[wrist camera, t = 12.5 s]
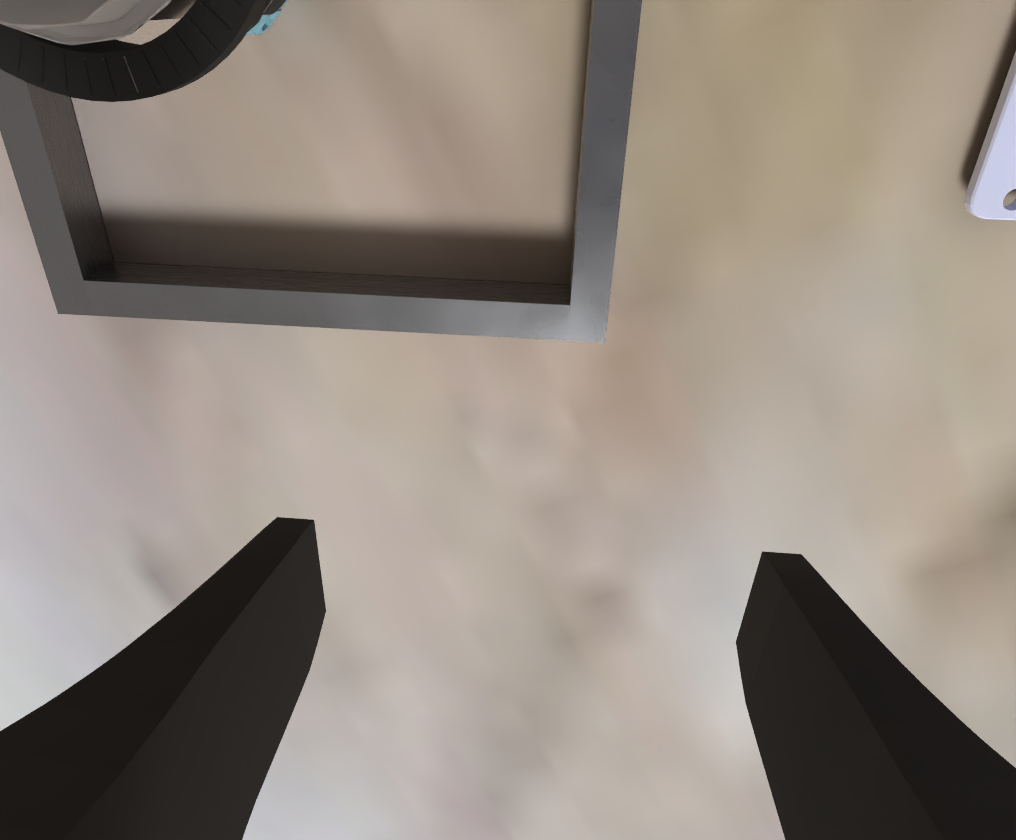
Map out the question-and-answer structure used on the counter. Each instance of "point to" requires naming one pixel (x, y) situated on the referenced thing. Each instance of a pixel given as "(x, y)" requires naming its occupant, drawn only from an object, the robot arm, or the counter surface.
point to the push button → (123, 43)
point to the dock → (329, 296)
